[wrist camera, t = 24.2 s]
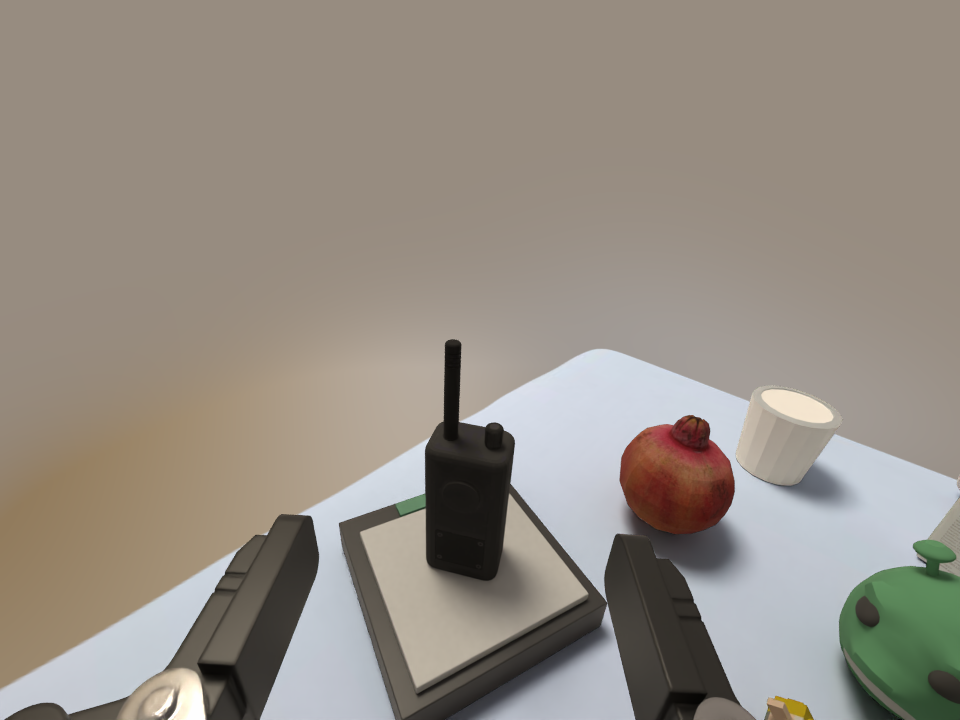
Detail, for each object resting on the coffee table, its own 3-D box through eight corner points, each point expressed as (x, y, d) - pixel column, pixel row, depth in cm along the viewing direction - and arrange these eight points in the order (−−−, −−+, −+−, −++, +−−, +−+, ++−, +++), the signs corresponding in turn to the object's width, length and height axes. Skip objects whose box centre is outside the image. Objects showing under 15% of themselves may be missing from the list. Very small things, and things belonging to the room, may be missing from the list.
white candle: (714, 456, 43) (738, 396, 40) (750, 434, 46) (774, 377, 43) (789, 501, 38) (823, 437, 35) (822, 473, 42) (856, 412, 38)
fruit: (650, 471, 41) (679, 378, 36) (735, 532, 35) (782, 431, 30) (588, 504, 36) (611, 404, 32) (671, 580, 31) (715, 471, 26)
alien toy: (779, 648, 27) (853, 536, 22) (866, 614, 29) (950, 506, 24) (907, 796, 21) (1043, 686, 16) (1003, 739, 23) (1148, 628, 19)
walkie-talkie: (504, 542, 29) (528, 339, 22) (494, 588, 26) (517, 370, 19) (435, 526, 30) (436, 325, 23) (417, 569, 27) (413, 353, 20)
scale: (496, 489, 37) (498, 462, 36) (600, 626, 27) (609, 596, 26) (341, 546, 32) (337, 516, 30) (403, 744, 22) (401, 715, 20)
